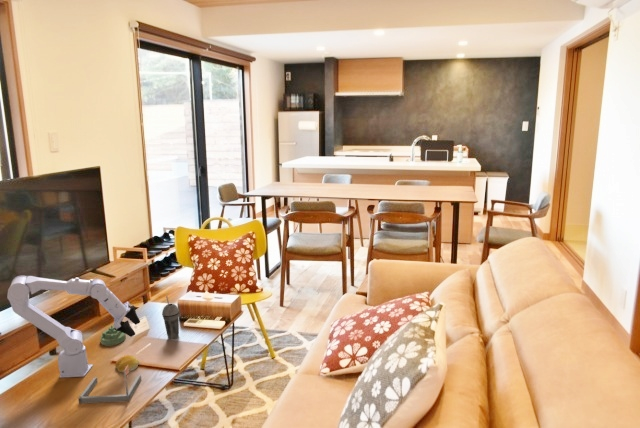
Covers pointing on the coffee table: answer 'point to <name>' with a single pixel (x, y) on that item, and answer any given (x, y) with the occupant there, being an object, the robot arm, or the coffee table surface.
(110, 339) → the decorative artifact
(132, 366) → the bread roll
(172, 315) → the beverage cup
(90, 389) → the frame
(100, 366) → the coffee table surface
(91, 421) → the coffee table surface
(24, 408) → the coffee table surface
